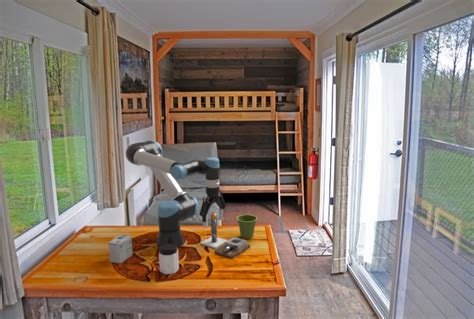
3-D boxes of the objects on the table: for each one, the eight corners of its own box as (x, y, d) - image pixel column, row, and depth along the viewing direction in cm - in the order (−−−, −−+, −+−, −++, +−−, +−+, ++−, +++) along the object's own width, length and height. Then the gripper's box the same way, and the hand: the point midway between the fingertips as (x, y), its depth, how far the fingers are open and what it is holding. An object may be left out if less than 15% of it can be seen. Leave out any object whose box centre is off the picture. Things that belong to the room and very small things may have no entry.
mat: (200, 244, 210) (200, 242, 209) (212, 237, 218) (212, 236, 218) (216, 248, 203) (215, 247, 203) (228, 241, 212) (228, 240, 212)
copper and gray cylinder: (214, 243, 209) (213, 215, 206) (210, 241, 211) (209, 214, 208) (218, 241, 211) (217, 213, 208) (214, 239, 213) (213, 212, 210)
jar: (160, 275, 175) (158, 251, 173) (159, 267, 183) (158, 244, 181) (179, 273, 177) (178, 249, 175) (178, 265, 185) (177, 242, 183)
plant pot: (234, 239, 215) (234, 220, 213) (239, 232, 227) (239, 214, 225) (255, 241, 213) (255, 222, 211) (258, 233, 224) (258, 215, 222)
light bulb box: (122, 253, 200) (120, 233, 198) (133, 255, 198) (131, 235, 196) (109, 262, 190) (107, 241, 188) (120, 263, 188) (119, 243, 186)
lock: (214, 252, 198) (214, 245, 198) (232, 242, 211) (232, 235, 210) (233, 258, 192) (232, 251, 191) (250, 247, 204) (250, 240, 204)
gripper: (203, 192, 193) (204, 232, 197) (231, 182, 213) (232, 218, 217) (192, 190, 197) (193, 229, 201) (221, 180, 217) (221, 215, 221)
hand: (213, 223), depth 209 cm, fingers open, 13 cm apart
